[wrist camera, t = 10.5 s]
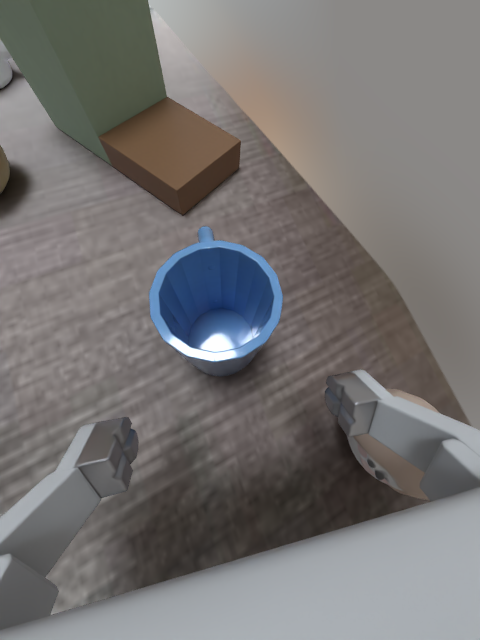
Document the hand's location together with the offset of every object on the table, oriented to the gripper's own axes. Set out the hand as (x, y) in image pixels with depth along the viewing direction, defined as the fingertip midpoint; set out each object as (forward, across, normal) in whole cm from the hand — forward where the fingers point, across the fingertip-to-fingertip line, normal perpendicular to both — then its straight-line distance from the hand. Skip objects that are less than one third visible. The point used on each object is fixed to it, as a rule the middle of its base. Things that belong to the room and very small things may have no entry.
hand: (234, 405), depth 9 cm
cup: (+11, 0, +2) cm, 11 cm away
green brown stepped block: (+28, +5, -16) cm, 32 cm away
